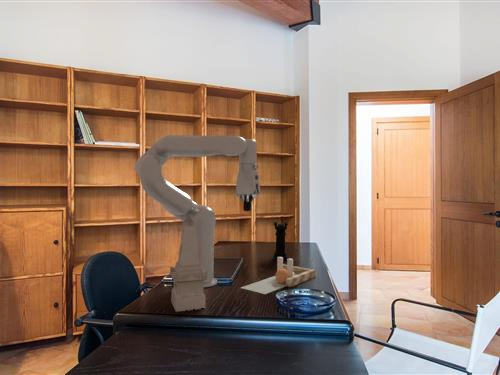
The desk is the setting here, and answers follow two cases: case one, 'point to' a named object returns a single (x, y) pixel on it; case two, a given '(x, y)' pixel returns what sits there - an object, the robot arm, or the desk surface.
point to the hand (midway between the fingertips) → (247, 210)
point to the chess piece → (280, 241)
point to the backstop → (299, 275)
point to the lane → (265, 285)
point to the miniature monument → (188, 272)
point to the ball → (282, 275)
